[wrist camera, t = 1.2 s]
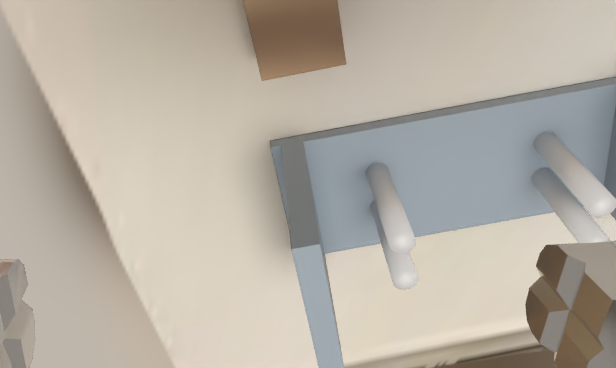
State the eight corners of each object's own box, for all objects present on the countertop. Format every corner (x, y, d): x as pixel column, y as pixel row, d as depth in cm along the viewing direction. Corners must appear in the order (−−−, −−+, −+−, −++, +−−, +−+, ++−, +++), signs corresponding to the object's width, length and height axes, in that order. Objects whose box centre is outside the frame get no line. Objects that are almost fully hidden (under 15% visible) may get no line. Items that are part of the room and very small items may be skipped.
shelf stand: (643, 71, 40) (777, 160, 30) (623, 190, 45) (730, 300, 35) (270, 140, 40) (277, 251, 30) (295, 250, 45) (308, 375, 35)
